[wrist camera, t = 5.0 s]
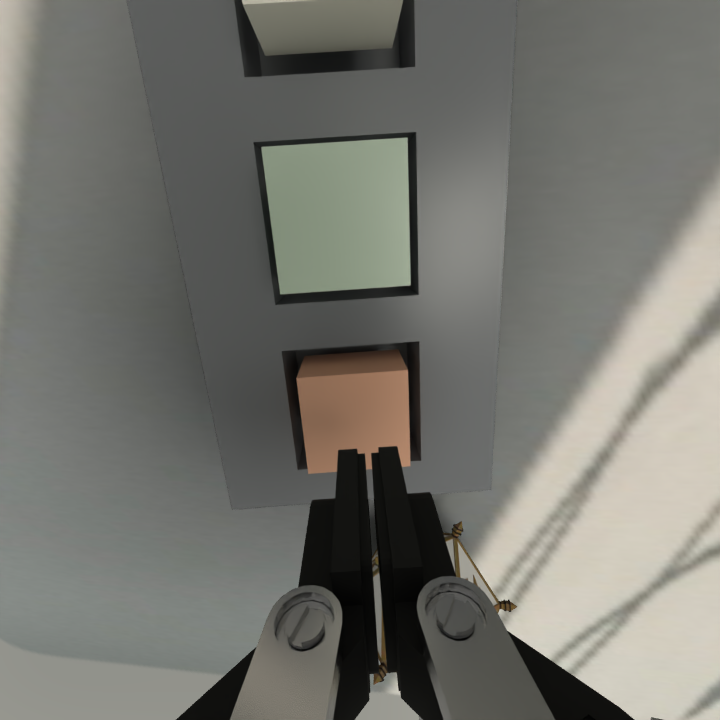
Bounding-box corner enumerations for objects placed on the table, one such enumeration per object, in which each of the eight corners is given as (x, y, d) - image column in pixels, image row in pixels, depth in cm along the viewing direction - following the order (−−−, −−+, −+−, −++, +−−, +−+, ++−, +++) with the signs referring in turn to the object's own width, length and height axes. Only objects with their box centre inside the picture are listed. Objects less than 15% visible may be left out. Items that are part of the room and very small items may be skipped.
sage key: (278, 165, 14) (261, 147, 11) (395, 158, 14) (407, 137, 11) (292, 284, 16) (280, 294, 13) (399, 277, 16) (411, 285, 13)
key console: (147, -120, 14) (74, -251, 10) (483, -139, 14) (531, -275, 11) (251, 463, 22) (231, 509, 18) (466, 447, 22) (491, 490, 19)
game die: (405, 482, 28) (484, 488, 18) (470, 585, 27) (587, 643, 18) (302, 566, 24) (337, 623, 15) (374, 686, 23) (457, 825, 14)
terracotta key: (304, 356, 18) (296, 378, 15) (398, 349, 18) (408, 370, 15) (314, 438, 19) (308, 473, 16) (400, 432, 19) (410, 466, 16)
